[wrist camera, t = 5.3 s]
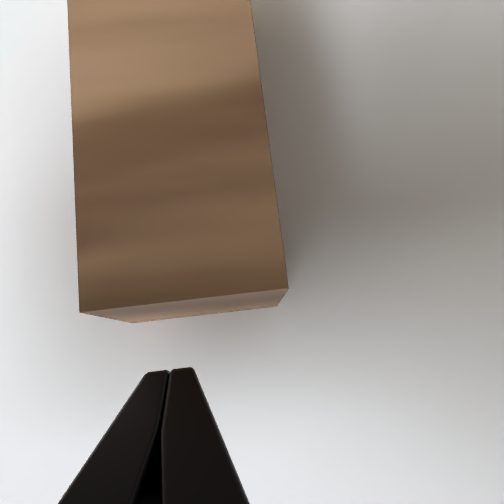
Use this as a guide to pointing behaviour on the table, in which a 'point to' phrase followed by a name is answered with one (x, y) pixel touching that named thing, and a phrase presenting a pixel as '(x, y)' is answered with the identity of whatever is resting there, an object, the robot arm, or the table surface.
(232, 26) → the walnut block
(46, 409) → the table surface
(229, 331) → the table surface
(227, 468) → the robot arm
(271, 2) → the table surface
